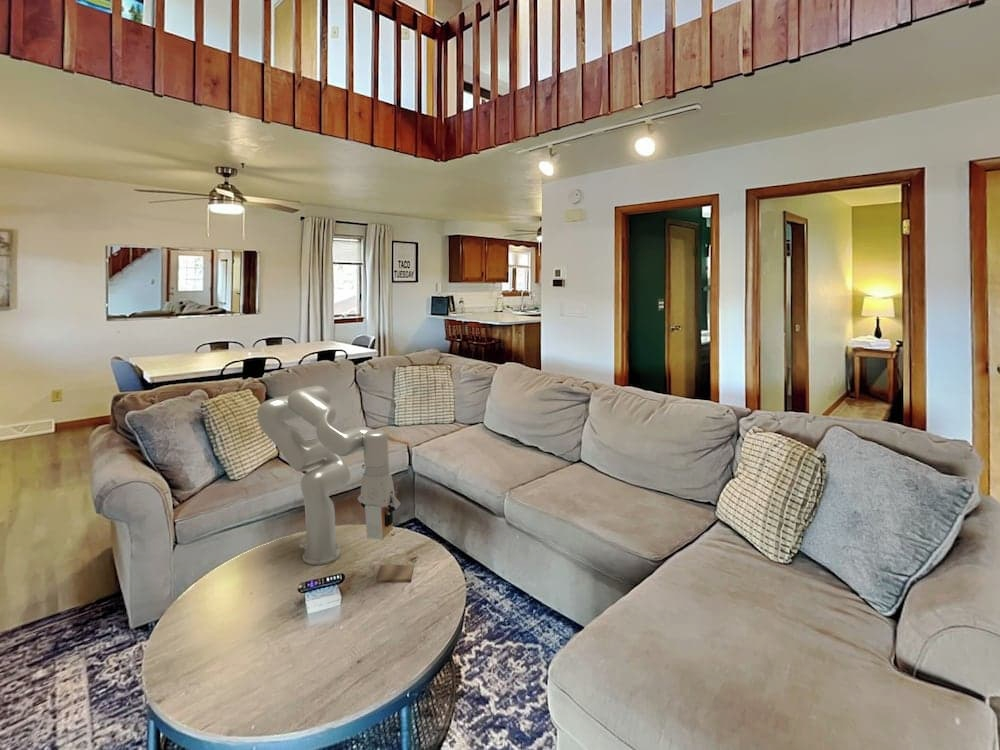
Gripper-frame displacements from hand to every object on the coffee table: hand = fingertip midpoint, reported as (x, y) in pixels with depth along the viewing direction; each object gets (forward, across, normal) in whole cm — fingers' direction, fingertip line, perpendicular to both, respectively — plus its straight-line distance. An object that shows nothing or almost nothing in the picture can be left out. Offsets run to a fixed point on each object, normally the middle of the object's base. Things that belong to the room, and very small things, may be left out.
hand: (379, 523), depth 169 cm
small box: (+4, 0, 0) cm, 4 cm away
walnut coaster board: (+18, +3, +2) cm, 19 cm away
